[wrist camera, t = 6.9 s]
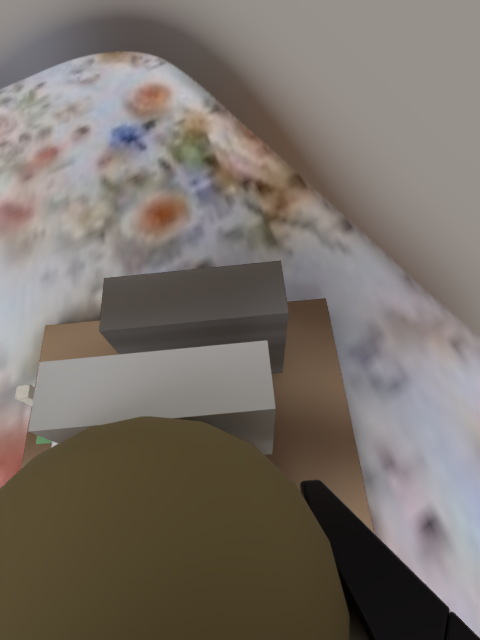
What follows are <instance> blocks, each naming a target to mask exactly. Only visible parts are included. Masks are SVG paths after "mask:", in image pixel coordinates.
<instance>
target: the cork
mask: <svg viewBox="0 0 480 640" xmlns="http://www.w3.org/2000/svg"><path fill="white" fill-rule="evenodd" d="M0 640H350V615H349V611H348V608H347V604H346V600H345V597H344V593H343V589H342V585H341V582H340V578H339V574H338V571H337V567H336V563H335V559H334V556H333V552H332V548H331V545H330V541H329V540H328V538H327V536H326V534H325V533H324V531H323V529H322V528H321V526H320V524H319V523H318V521H317V519H316V518H315V516H314V514H313V512H312V511H311V509H310V507H309V506H308V504H307V502H306V501H305V499H304V497H303V495H302V494H301V492H300V490H299V489H298V487H297V485H296V484H295V483H294V482H293V481H292V480H291V479H290V478H289V477H288V476H287V475H286V474H284V473H283V472H282V471H281V470H280V469H279V468H278V467H277V466H276V465H275V464H274V463H273V462H271V461H270V460H269V459H268V458H267V457H266V456H265V455H264V454H263V453H262V452H261V451H260V450H258V449H257V448H256V447H255V446H254V445H253V444H251V443H249V442H247V441H245V440H243V439H240V438H238V437H236V436H234V435H232V434H229V433H227V432H225V431H223V430H221V429H219V428H216V427H214V426H212V425H210V424H208V423H205V422H202V421H192V420H182V419H172V418H163V417H153V416H141V417H136V418H132V419H127V420H123V421H118V422H113V423H109V424H104V425H99V426H95V427H90V428H86V429H85V430H83V431H81V432H79V433H77V434H75V435H74V436H72V437H70V438H68V439H66V440H64V441H63V442H61V443H59V444H57V445H55V446H53V447H52V448H50V449H48V450H46V451H44V452H42V453H40V454H39V455H37V456H35V457H34V458H33V459H31V460H30V461H29V462H28V463H27V464H26V465H25V466H24V467H23V468H22V469H21V470H20V471H19V472H18V473H16V474H15V475H14V476H13V477H12V478H11V479H10V480H9V481H8V482H7V483H6V484H5V485H4V486H3V487H1V488H0Z"/></svg>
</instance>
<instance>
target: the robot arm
mask: <svg viewBox="0 0 480 640" xmlns="http://www.w3.org/2000/svg"><path fill="white" fill-rule="evenodd" d="M300 492H301V494H302V495H303V497H304V499H305V501H306V502H307V504H308V506H309V507H310V509H311V511H312V512H313V514H314V516H315V518H316V519H317V521H318V523H319V524H320V526H321V528H322V529H323V531H324V533H325V534H326V536H327V538H328V540H329V541H330V545H331V548H332V552H333V556H334V559H335V563H336V567H337V571H338V574H339V578H340V582H341V585H342V589H343V593H344V597H345V600H346V604H347V608H348V611H349V615H350V640H480V638H479V637H478V636H477V635H476V634H475V633H474V632H473V631H472V630H471V629H470V628H469V627H468V626H467V625H466V624H465V623H464V622H463V621H462V620H461V619H460V618H459V617H458V616H457V615H456V614H455V613H454V612H450V610H449V608H448V606H447V605H446V604H445V603H444V602H443V601H442V600H441V599H440V598H439V597H438V596H437V595H436V594H435V593H434V592H433V591H432V590H431V589H430V588H429V587H428V586H427V585H426V584H425V583H424V582H423V581H422V580H420V579H419V578H418V577H417V576H416V575H415V574H414V573H413V572H412V571H411V570H410V569H409V568H408V567H407V566H406V565H405V564H404V563H403V562H402V561H401V560H400V559H399V558H398V557H397V556H396V555H395V554H394V553H393V552H392V551H391V550H390V549H389V548H388V547H387V546H386V545H385V544H384V543H383V542H382V541H381V540H380V539H379V538H378V537H377V536H376V535H375V534H374V533H373V532H372V531H371V530H370V529H369V528H368V527H367V526H366V525H365V524H364V523H363V522H362V521H361V520H360V519H359V518H358V517H357V516H356V515H355V514H354V513H353V512H352V511H351V510H350V509H349V508H348V507H347V506H346V505H345V504H344V503H343V502H342V501H341V500H340V499H339V498H338V497H337V496H336V495H335V494H334V493H333V492H332V491H331V490H330V489H329V488H328V487H327V486H326V485H325V484H324V483H323V482H322V481H321V480H317V479H316V480H305V481H302V482H301V483H300ZM449 612H450V613H449Z"/></svg>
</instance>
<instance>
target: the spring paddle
mask: <svg viewBox="0 0 480 640" xmlns="http://www.w3.org/2000/svg"><path fill="white" fill-rule="evenodd" d="M275 411H276V408H275V399H274V391H273V383H272V374H271V366H270V358H269V349H268V341H267V340H266V341H255V342H245V343H234V344H224V345H214V346H203V347H193V348H182V349H172V350H161V351H151V352H140V353H130V354H119V355H109V356H98V357H88V358H77V359H67V360H57V361H46V362H40V363H39V368H38V374H37V380H36V386H35V392H34V398H33V404H32V410H31V416H30V422H29V428H28V432H30V433H33V434H35V435H38V436H40V437H43V438H45V439H48V440H50V441H52V446H51V448H52V447H53V446H55V445H57V444H59V443H61V442H63V441H64V440H66V439H68V438H70V437H72V436H74V435H75V434H77V433H79V432H81V431H83V430H85V429H86V428H90V427H95V426H99V425H104V424H109V423H113V422H118V421H123V420H127V419H132V418H136V417H141V416H153V417H163V418H172V419H182V420H192V421H202V422H205V423H208V424H210V425H212V426H214V427H216V428H219V429H221V430H223V431H225V432H227V433H229V434H232V435H234V436H236V437H238V438H240V439H243V440H245V441H247V442H249V443H251V444H253V445H254V446H255V447H256V448H257V449H258V450H260V451H261V452H262V453H263V454H264V455H267V454H272V451H273V437H274V424H275Z"/></svg>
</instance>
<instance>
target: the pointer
mask: <svg viewBox="0 0 480 640" xmlns="http://www.w3.org/2000/svg"><path fill="white" fill-rule="evenodd" d="M34 392H35V388H34V387H33V386H31V385H22V386H17V390H16V396H15V399H17V400H19V401H21V402H23V403H25V404H27V405H29V406H31V407H32V404H33V398H34Z"/></svg>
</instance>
